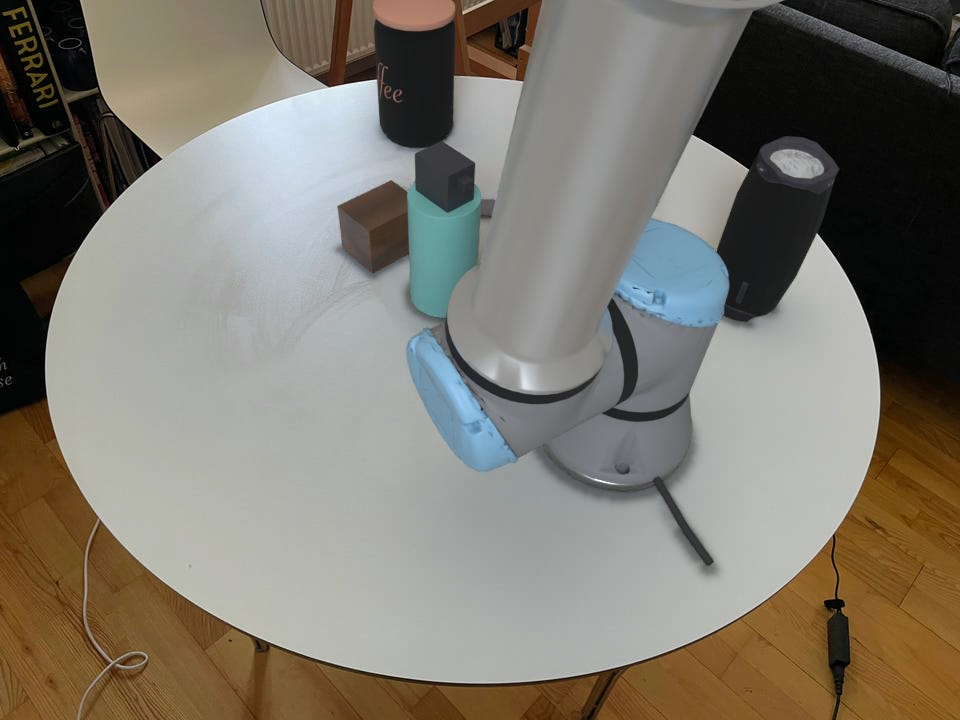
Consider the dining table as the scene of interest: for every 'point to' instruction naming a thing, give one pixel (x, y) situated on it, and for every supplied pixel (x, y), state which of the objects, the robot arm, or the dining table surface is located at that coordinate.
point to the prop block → (376, 226)
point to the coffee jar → (415, 69)
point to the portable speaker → (774, 223)
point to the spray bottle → (441, 226)
